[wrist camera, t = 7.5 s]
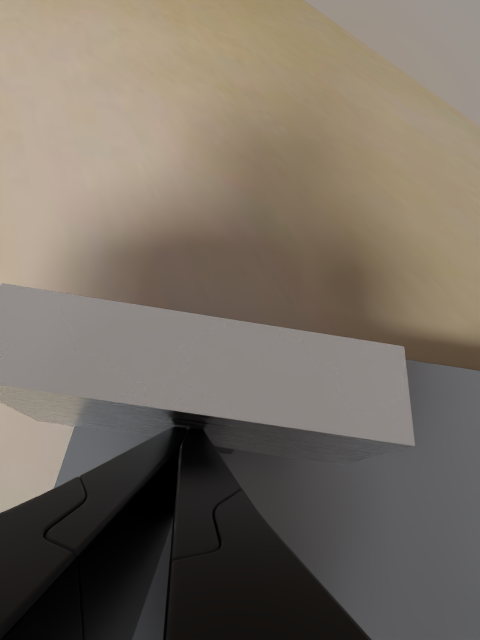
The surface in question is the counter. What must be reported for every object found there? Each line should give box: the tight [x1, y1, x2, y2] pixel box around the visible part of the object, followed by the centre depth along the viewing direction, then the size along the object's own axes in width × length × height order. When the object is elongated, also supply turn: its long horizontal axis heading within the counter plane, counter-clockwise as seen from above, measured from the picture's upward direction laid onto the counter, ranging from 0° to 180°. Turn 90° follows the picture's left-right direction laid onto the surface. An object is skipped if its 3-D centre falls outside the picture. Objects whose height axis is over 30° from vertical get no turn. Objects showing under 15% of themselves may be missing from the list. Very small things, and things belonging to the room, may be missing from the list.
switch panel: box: [54, 359, 480, 640], centre depth 15 cm, size 14×30×3 cm, turn 83°
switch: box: [0, 283, 415, 465], centre depth 11 cm, size 2×10×7 cm, turn 83°
